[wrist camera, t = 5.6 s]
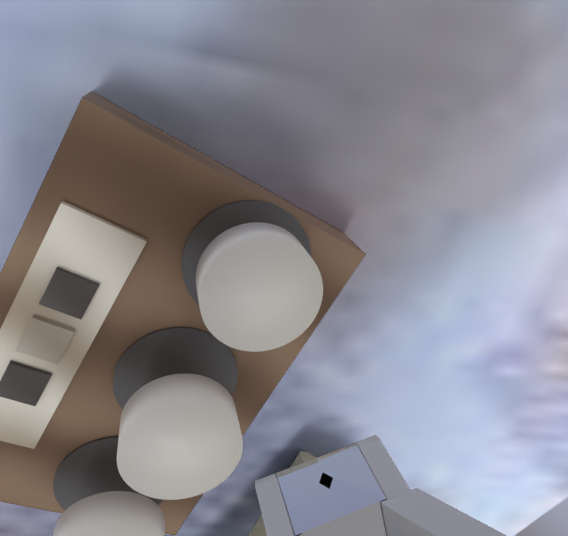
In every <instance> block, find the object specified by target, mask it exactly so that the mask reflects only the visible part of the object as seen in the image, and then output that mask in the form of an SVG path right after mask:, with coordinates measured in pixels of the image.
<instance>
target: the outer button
mask: <svg viewBox="0 0 568 536" xmlns="http://www.w3.org/2000/svg"><path fill="white" fill-rule="evenodd" d="M196 289H197V295H198V301H199V307H200V312H201V316H202V319H203V321H204V323H205V325H206V327H207V328H208V330H209V331H210V332H211V333H212V335H213V336H214V337H216V338H217V339H218V340H219V341H221V342H222V343H224V344H225V345H227V346H230V347H232V348H235V349H238V350H242V351H250V352H260V351H267V350H272V349H276V348H279V347H281V346H284V345H286V344H288V343H290V342H291V341H293V340H294V339H296V338H297V337H299V336H300V335H301V334H302V333H303V332H304V331H305V330H306V329H307V328H308V327H309V326H310V325H311V323H312V322H313V321H314V319H315V317H316V315H317V313H318V311H319V309H320V306H321V303H322V297H323V282H322V277H321V274H320V271H319V269H318V267H317V265H316V264H315V262H314V260H313V259H312V258H311V256H310V255H309V254H308V252H307V251H306V250H305V248H304V247H303V246H302V244H301V243H300V242H299V241H298V239H297V238H296V237H295V236H294V235H292V234H291V233H290V232H288V231H287V230H285V229H284V228H281V227H279V226H277V225H273V224H269V223H263V222H253V223H245V224H241V225H237V226H235V227H232V228H230V229H228V230H226V231H224V232H223V233H221V234H220V235H218V236H217V237H216V238H215V239H214V240H213V241H212V242H211V243H210V244H209V245H208V246H207V247H206V249H205V250H204V252H203V253H202V255H201V258H200V260H199V262H198V265H197V270H196Z"/></svg>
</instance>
